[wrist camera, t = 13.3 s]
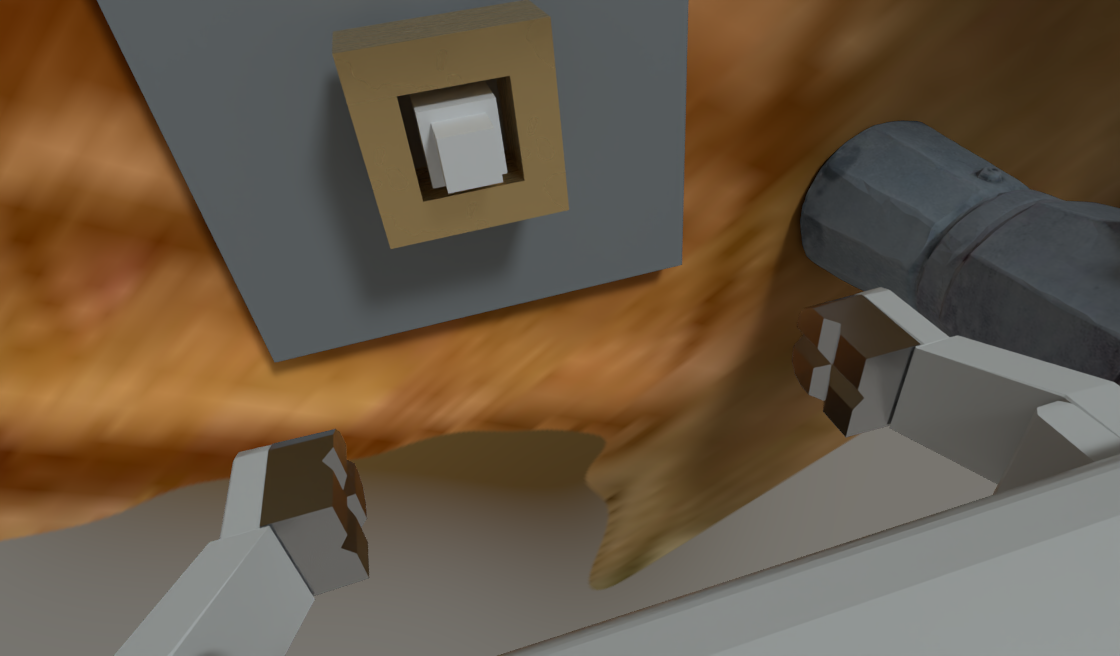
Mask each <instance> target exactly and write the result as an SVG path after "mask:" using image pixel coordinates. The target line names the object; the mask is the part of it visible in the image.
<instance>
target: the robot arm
mask: <svg viewBox="0 0 1120 656" xmlns="http://www.w3.org/2000/svg"><path fill="white" fill-rule="evenodd" d="M797 327H798V329H799V330H800V331H801V332H802V334H803V335H802V336H801V337H800V339H799V340H798V341H797V342H796V344H795V345H794V347H793V356H792V363H793V367H794V372H795V375H796V377H797V379H798V381H799V383H800V385H801V386H802V387H803V388H804V390H805V391H806V392H807V393H808V394H809V395H811V396H813V397H816V398H818V399H821V400H823V401H824V405H823V412H824V413H825V414H826V415H827V416H828V418H829V419H830V420H831V421H832V422H833V423H834V424H835V426H836V427H837V428H838V429H839V430H840V431H841V432H842V434H843V435H844V436H845V437H849V436H853V435H856V434H860V433H864V432H867V431H871V430H875V429H879V428H883V427H886V426H890V428H891V429H893V430H894V431H896V432H898V433H900V434H902V435H904V436H906V437H908V438H910V439H911V440H914V441H915V442H917V443H919V444H921V445H923V446H925V447H927V448H929V449H931V450H933V451H935V452H936V453H938V454H940V455H942V456H944V457H946V458H948V459H950V460H952V461H954V462H956V463H958V464H960V465H961V466H963V467H965V468H967V469H969V470H971V471H973V472H975V473H977V474H979V475H981V476H983V477H984V478H986V479H988V480H990V481H992V482H994V483H996V484H998V485H997V487H996V489H995V491H994V493H993V495H991V496H989V497H985V498H982V499H979V500H976V501H973V502H970V503H967V504H964V505H960V506H958V507H954V508H951V509H948V510H945V511H942V512H939V513H936V514H933V515H930V516H927V517H923V518H920V519H917V520H915V521H911V522H908V523H905V524H902V525H899V526H896V527H893V528H890V529H886V530H883V531H881V532H877V533H874V534H872V535H868V536H865V537H862V538H859V539H856V540H853V541H850V542H846V543H843V544H840V545H837V546H834V547H831V548H828V549H825V550H822V551H819V552H816V553H813V554H810V555H806V556H803V557H800V558H797V559H794V560H791V561H788V562H785V563H782V564H779V565H776V566H773V567H770V568H767V569H763V570H760V571H757V572H754V573H751V574H748V575H745V576H742V577H739V578H736V579H733V580H729V581H727V582H723V583H720V584H717V585H714V586H711V587H708V588H705V589H702V590H699V591H696V592H692V593H690V594H686V595H683V596H680V597H677V598H674V599H671V600H668V601H665V602H662V603H659V604H655V605H652V606H649V607H646V608H643V609H640V610H637V611H634V612H631V613H628V614H625V615H622V616H618V617H616V618H612V619H609V620H606V621H603V622H600V623H597V624H594V625H591V626H588V627H584V628H581V629H578V630H575V631H572V632H569V633H566V634H563V635H560V636H557V637H554V638H550V639H548V640H544V641H541V642H538V643H535V644H532V645H529V646H526V647H523V648H520V649H516V650H514V651H510V652H507V653H504V654H501V655H498V656H1120V386H1119V385H1118V384H1116V383H1115V382H1112V381H1108V380H1105V379H1102V378H1098V377H1095V376H1092V375H1088V374H1085V373H1082V372H1078V371H1075V370H1072V369H1068V368H1065V367H1062V366H1058V365H1055V364H1052V363H1048V362H1045V361H1042V360H1038V359H1035V358H1032V357H1028V356H1025V355H1021V354H1018V353H1015V352H1011V351H1008V350H1005V349H1001V348H998V347H995V346H991V345H988V344H985V343H981V342H978V341H975V340H971V339H968V338H965V337H961V336H958V335H957V336H953V337H949V336H947V335H946V334H945V333H944V332H942V331H941V330H940V329H939V328H937V327H936V326H935V325H933V324H932V323H931V322H930V321H928V320H927V319H926V318H925V317H923V316H922V315H921V314H920V313H918V312H917V311H916V310H914V309H913V308H912V307H911V306H909V305H908V304H907V303H906V302H904V301H903V300H902V299H901V298H899V297H898V296H897V295H895V294H894V293H893V292H892V291H890V290H889V289H886V288H882V287H879V288H875V289H872V290H868V291H864V292H861V293H857V294H855V295H852V296H847V297H844V298H840V299H836V300H832V301H829V302H825V303H821V304H817V305H814V306H810V307H806V308H804V309H803V310H802V312H801V313H800V315H799V318H798V324H797ZM366 519H367V512H366V501H365V495H364V490H363V485H362V482H361V479H360V475H359V473H358V470H357V468H356V466H355V463H353V462H351V461H349V460H347V452H346V443H345V441H344V439H343V437H342V435H341V433H340V431H338V430H336V429H334V430H330V431H325V432H321V433H317V434H312V435H308V436H304V437H300V438H295V439H291V440H287V441H283V442H278V443H274V444H272V445H269V446H264V447H260V448H256V449H251V450H247V451H243V452H239V453H238V454H237V456H236V457H235V459H234V461H233V465H232V471H231V476H230V482H229V488H228V493H227V499H226V504H225V510H224V516H223V521H222V527H221V533H220V538H219V540H216V541H212V542H209V543H208V544H207V545H206V547H205V548H204V549H203V550H202V551H201V553H200V554H199V555H198V556H197V557H196V559H195V560H194V561H193V562H192V563H191V565H190V566H189V567H188V568H187V569H186V570H185V572H184V573H183V574H182V575H181V577H179V579H178V580H177V581H176V582H175V584H174V585H173V586H172V587H171V588H170V589H169V591H168V592H167V593H166V594H165V595H164V596H163V598H162V599H161V600H160V601H159V602H158V604H157V605H156V606H155V608H153V610H152V611H151V612H150V613H149V614H148V616H147V617H146V618H145V619H144V620H143V622H142V623H141V624H140V625H139V626H138V627H137V629H136V630H135V631H134V632H133V634H132V635H131V636H130V637H129V638H128V639H127V640H126V642H125V643H124V644H123V645H122V646H121V648H120V649H119V650H118V651H117V652H116V654H115V655H114V656H285V654H286V653H287V651H288V649H289V647H290V645H291V643H292V641H293V640H294V638H295V636H296V634H297V632H298V630H299V628H300V626H301V625H302V623H303V621H304V619H305V617H306V615H307V613H308V611H309V609H310V608H311V606H312V604H313V602H314V600H315V598H314V597H313V596H316V595H319V594H322V593H325V592H328V591H331V590H334V589H337V588H340V587H343V586H347V585H350V584H353V583H356V582H359V581H362V580H365V579H368V578H369V561H368V541H367V539H366V537H365V535H364V533H363V531H362V528H361V527H362V526H363V524H364V522H365V521H366Z"/></svg>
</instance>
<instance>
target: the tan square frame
mask: <svg viewBox="0 0 1120 656" xmlns="http://www.w3.org/2000/svg"><path fill="white" fill-rule="evenodd" d="M332 55H333V58H334V62H335V65H336V68H337V72H338V75H339V78H340V82H341V85H342V89H343V92H344V95H345V99H346V102H347V105H348V109H349V112H350V115H351V119H352V122H353V125H354V129H355V132H356V135H357V139H358V142H359V145H360V149H361V152H362V155H363V159H364V162H365V165H366V169H367V172H368V175H369V179H370V182H371V185H372V189H373V192H374V195H375V199H376V202H377V205H378V209H379V212H380V215H381V219H382V222H383V225H384V229H385V232H386V235H387V239H388V242H389V245H390V249H394V248H398V247H403V246H407V245H412V244H416V243H421V242H426V241H430V240H435V239H439V238H444V237H448V236H453V235H457V234H462V233H467V232H471V231H476V230H480V229H485V228H489V227H494V226H498V225H503V224H508V223H512V222H517V221H521V220H526V219H530V218H535V217H539V216H544V215H549V214H553V213H558V212H562V211H567V210H569V203H568V192H567V182H566V172H565V161H564V151H563V140H562V130H561V120H560V109H559V99H558V89H557V78H556V68H555V58H554V47H553V37H552V27H551V17H550V16H549V15H548V14H546V13H545V12H544V11H542V10H541V9H540V8H539V7H537V6H536V5H535V4H533V3H532V2H531V1H529V0H522V1H516V2H509V3H503V4H497V5H491V6H485V7H479V8H473V9H467V10H461V11H455V12H449V13H443V14H436V15H430V16H424V17H418V18H412V19H406V20H400V21H394V22H388V23H382V24H376V25H369V26H363V27H357V28H351V29H345V30H339V31H333V40H332ZM494 78H496V80H497V86H498V93H499V99H500V106H501V113H502V119H503V126H504V132H505V139H506V145H507V150H505V151H504V154H505V160H506V166H507V173H506V174H502V177H503V182H501V183H497V184H492V185H487V186H482V187H477V188H473V189H468V190H463V191H458V192H454V193H449V194H448V191H447V188H446V186H443V187H439V188H434V189H433V186H432V182H431V179H430V175H429V172H428V168H427V166H425V167H420V168H416V169H415V167H414V163H413V159H412V155H411V151H410V147H409V143H408V139H407V135H406V131H405V127H404V123H403V119H402V115H401V111H400V107H399V103H398V99H397V96H401V95H407V94H412V93H418V92H423V91H429V90H434V89H440V88H445V87H450V86H456V85H461V84H467V83H472V82H478V81H483V80H489V79H494Z"/></svg>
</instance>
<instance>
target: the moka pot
mask: <svg viewBox="0 0 1120 656" xmlns="http://www.w3.org/2000/svg"><path fill="white" fill-rule="evenodd" d="M800 225H801V235H802V245H803V248H804V251H805V254H806V256H807V257H808V258H809V259H810V260H812V261H813V262H814V263H816V264H817V265H818V266H820V267H822V268H823V269H825V270H827V271H828V272H830V273H831V274H833V275H834V276H836V277H838V278H839V279H841V280H843V281H845V282H847V283H849V284H851V285H852V286H854V287H857V288H859V289H861V290H863V291H868V290H872V289H875V288H879V287H882V288H886V289H889V290H890V291H892V292H893V293H894V294H895V295H897V296H898V297H899V298H901V299H902V300H903V301H904V302H906V303H907V304H908V305H909V306H911V307H912V308H913V309H914V310H916V311H917V312H918V313H920V314H921V315H922V316H923V317H925V318H926V319H927V320H928V321H930V322H931V323H932V324H933V325H935V326H936V327H937V328H939V329H940V330H941V331H942V332H944V333H945V334H946V335H947V336H949V337H953V336H957V335H958V336H961V337H965V338H968V339H971V340H975V341H978V342H981V343H985V344H988V345H991V346H995V347H998V348H1001V349H1005V350H1008V351H1011V352H1015V353H1018V354H1021V355H1025V356H1028V357H1032V358H1035V359H1038V360H1042V361H1045V362H1048V363H1052V364H1055V365H1058V366H1062V367H1065V368H1068V369H1072V370H1075V371H1078V372H1082V373H1085V374H1088V375H1092V376H1095V377H1098V378H1102V379H1105V380H1108V381H1112V382H1115V383H1116V384H1118V385H1119V386H1120V208H1116V207H1112V206H1108V205H1104V204H1099V203H1093V202H1078V201H1064V200H1061V199H1058V198H1056V197H1054V196H1051V195H1049V194H1046V193H1043V192H1039V191H1035V190H1030V189H1029V188H1028V187H1027V186H1025V185H1024V184H1023V183H1021V182H1020V181H1019V180H1017V179H1016V178H1014V177H1012V176H1011V175H1009V174H1007V173H1005V172H1004V171H1002V170H1000V169H999V168H997V167H995V166H994V165H992V164H991V163H989V162H988V161H986V160H984V159H983V158H981V157H979V156H977V155H975V154H974V153H972V152H970V151H969V150H967V149H965V148H963V147H961V146H960V145H958V144H957V143H955V142H954V141H952V140H950V139H948V138H947V137H945V136H943V135H942V134H940V133H939V132H937V131H936V130H934V129H932V128H931V127H929V126H927V125H925V124H924V123H922V122H918V121H894V122H887V123H883V124H879V125H874V126H872V127H870V128H868V129H866V130H865V131H863V132H861V133H859V134H858V135H856V136H855V137H854V138H852V139H850V140H849V141H847V142H846V143H845V144H844V145H843V146H841V147H840V148H839V149H838V150H837V151H836V152H835V153H834V154H833V155H832V156H831V157H830V158H829V159H828V160H827V162H826V163H825V164H824V165H823V166H822V168H821V169H820V171H819V172H818V174H817V176H816V178H815V180H814V181H813V183H812V185H811V187H810V189H809V190H808V192H807V194H806V197H805V202H804V204H803V206H802V213H801V218H800Z"/></svg>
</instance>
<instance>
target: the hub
mask: <svg viewBox="0 0 1120 656" xmlns="http://www.w3.org/2000/svg"><path fill="white" fill-rule="evenodd" d="M516 1H522V0H97V2H98V4H99V6H100V8H101V10H102V12H103V14H104V16H105V18H106V20H107V22H108V24H109V26H110V28H111V30H112V32H113V34H114V36H115V38H116V40H117V42H118V44H119V46H120V48H121V50H122V53H123V55H124V57H125V59H126V61H127V63H128V65H129V67H130V69H131V71H132V73H133V75H134V77H135V79H136V81H137V83H138V85H139V87H140V89H141V91H142V93H143V95H144V97H145V99H146V101H147V103H148V105H149V108H150V110H151V112H152V114H153V116H154V118H155V120H156V122H157V124H158V126H159V128H160V130H161V132H162V134H163V136H164V138H165V140H166V142H167V144H168V146H169V148H170V150H171V152H172V154H173V156H174V158H175V160H176V163H177V165H178V167H179V169H180V171H181V173H182V175H183V177H184V179H185V181H186V183H187V185H188V187H189V189H190V191H191V193H192V195H193V197H194V199H195V201H196V203H197V205H198V207H199V209H200V211H201V213H202V215H203V218H204V220H205V222H206V224H207V226H208V228H209V230H210V232H211V234H212V236H213V238H214V240H215V242H216V244H217V246H218V248H219V250H220V252H221V254H222V256H223V258H224V260H225V262H226V264H227V266H228V268H229V270H230V273H231V275H232V277H233V279H234V281H235V283H236V285H237V287H238V289H239V291H240V293H241V295H242V297H243V299H244V301H245V303H246V305H247V307H248V309H249V311H250V313H251V315H252V317H253V319H254V321H255V323H256V325H257V328H258V330H259V332H260V334H261V336H262V338H263V340H264V342H265V344H266V346H267V348H268V350H269V352H270V354H271V356H272V358H273V360H274V362H279V361H283V360H287V359H292V358H296V357H300V356H304V355H308V354H312V353H317V352H321V351H325V350H329V349H333V348H337V347H342V346H346V345H350V344H354V343H358V342H362V341H367V340H371V339H375V338H379V337H383V336H387V335H391V334H396V333H400V332H404V331H408V330H412V329H416V328H421V327H425V326H429V325H433V324H437V323H441V322H446V321H450V320H454V319H458V318H462V317H466V316H471V315H475V314H479V313H483V312H487V311H491V310H495V309H500V308H504V307H508V306H512V305H516V304H520V303H525V302H529V301H533V300H537V299H541V298H545V297H550V296H554V295H558V294H562V293H566V292H570V291H574V290H579V289H583V288H587V287H591V286H595V285H599V284H604V283H608V282H612V281H616V280H620V279H624V278H629V277H633V276H637V275H641V274H645V273H649V272H654V271H658V270H662V269H666V268H670V267H674V266H678V265H682V237H683V196H684V156H685V115H686V74H687V34H688V0H529V1H531V2H532V3H533V4H535V5H536V6H537V7H539V8H540V9H541V10H542V11H544V12H545V13H546V14H548V15H549V16H550V17H551V27H552V37H553V47H554V58H555V68H556V78H557V89H558V99H559V109H560V120H561V130H562V140H563V151H564V161H565V172H566V182H567V192H568V203H569V210H567V211H562V212H558V213H553V214H549V215H544V216H539V217H535V218H530V219H526V220H521V221H517V222H512V223H508V224H503V225H498V226H494V227H489V228H485V229H480V230H476V231H471V232H467V233H462V234H457V235H453V236H448V237H444V238H439V239H435V240H430V241H426V242H421V243H416V244H412V245H407V246H403V247H398V248H394V249H390V245H389V242H388V239H387V235H386V232H385V229H384V225H383V222H382V219H381V215H380V212H379V209H378V205H377V202H376V199H375V195H374V192H373V189H372V185H371V182H370V179H369V175H368V172H367V169H366V165H365V162H364V159H363V155H362V152H361V149H360V145H359V142H358V139H357V135H356V132H355V129H354V125H353V122H352V119H351V115H350V112H349V109H348V105H347V102H346V99H345V95H344V92H343V89H342V85H341V82H340V78H339V75H338V72H337V68H336V65H335V62H334V58H333V55H332V40H333V31H339V30H345V29H351V28H357V27H363V26H369V25H376V24H382V23H388V22H394V21H400V20H406V19H412V18H418V17H424V16H430V15H436V14H443V13H449V12H455V11H461V10H467V9H473V8H479V7H485V6H491V5H497V4H503V3H509V2H516ZM397 99H398V103H399V107H400V111H401V115H402V119H403V123H404V127H405V131H406V135H407V139H408V143H409V147H410V151H411V155H412V159H413V163H414V167H415V169H416V168H420V167H425V166H427V168H428V172H429V175H430V179H431V182H432V186H433V189H434V188H439V187H443V186H446V188H447V191H448V194H449V193H454V192H458V191H463V190H468V189H473V188H477V187H482V186H487V185H492V184H497V183H501V182H503V177H502V174H506V173H507V166H506V160H505V154H504V151H505V150H507V145H506V139H505V132H504V126H503V119H502V113H501V106H500V99H499V93H498V86H497V80H496V78H494V79H489V80H483V81H478V82H472V83H467V84H461V85H456V86H450V87H445V88H440V89H434V90H429V91H423V92H418V93H412V94H407V95H401V96H397Z"/></svg>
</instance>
